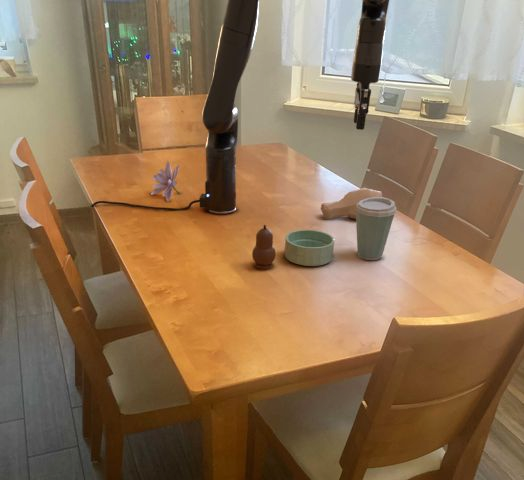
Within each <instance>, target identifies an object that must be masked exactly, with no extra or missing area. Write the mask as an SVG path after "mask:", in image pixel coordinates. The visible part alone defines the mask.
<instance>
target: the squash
mask: <svg viewBox="0 0 524 480" xmlns="http://www.w3.org/2000/svg"><path fill="white" fill-rule="evenodd" d="M373 197H383V193H382V191H379V190H375V189H372V188H368V187H365V186H364V187H361V188H359V189H357V190H351V191H349V192H347V193H346V194H344V196H343V198H340V199H339V200H338V201H332V202H323V203H321V205H320V210H321V213H322V215H323V217H324V219H325V220H327V219H332V218H338V217H345V218H350V219H353V220H356V210H355V209H356V205H357V204H358V203H359V201H361V200H363V199H366V198H373Z"/></svg>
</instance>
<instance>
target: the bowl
mask: <svg viewBox="0 0 524 480" xmlns="http://www.w3.org/2000/svg"><path fill="white" fill-rule="evenodd" d="M334 248H335V238H334V236H332V235H331V234H329V233H328V232H324V231H321V230H316V229H298V230H293V231H290V232H288V233H287V234H286V235H285V240H284V257H285V259H287V260H288V261H289V262H290V263H292V264H296V265H299V266H304V267H317V266H322V265H323V266H324V265H326V264H329V263H330V262H331V261H332V260H333V258H334Z"/></svg>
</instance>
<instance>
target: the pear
mask: <svg viewBox="0 0 524 480" xmlns="http://www.w3.org/2000/svg"><path fill="white" fill-rule="evenodd" d="M273 241H274V234H273V232H272V231H271V230H270V229H269V228H267V225H266V224H264V225H263V227H262V228H260V229H259V230H258V231H257V233H256V234H255V245H254V247H253V249H252V252H251V256H252V257H251V258H252V260H253V262H254V267H255V269H258V270H261V271H262V270H263V271H266V270H270V269H272V267H273V262H274V261H275V260H276V256H277V255H276V253H277V252H276V249H275V247H274V246H273V245H274V242H273Z"/></svg>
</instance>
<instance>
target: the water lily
mask: <svg viewBox="0 0 524 480" xmlns="http://www.w3.org/2000/svg"><path fill="white" fill-rule="evenodd" d="M179 171H180V164H178V165H177V166H176V167H175V169H174V170H173V171H172V166H171V163H170V162H169V160H167V161H166V163H165V169H163V168H161V169H159V172H158V173H156V174H154V175H152V179H153V181H155V182H156V183H158V184H154V185H152V188H153V191H152V192H151V193H150V196H153V195H157V194H160V193H162V197H165V200H166V202H169V201H170V200H171V198H172V195H173V190H174V191H175V192H176V193H177V194H178V195H179V194H180V191H179V190H178V189H177V188H176V186H177V185H178V182H177V180H175V179H176V178H177V176H178V174H179Z"/></svg>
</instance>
